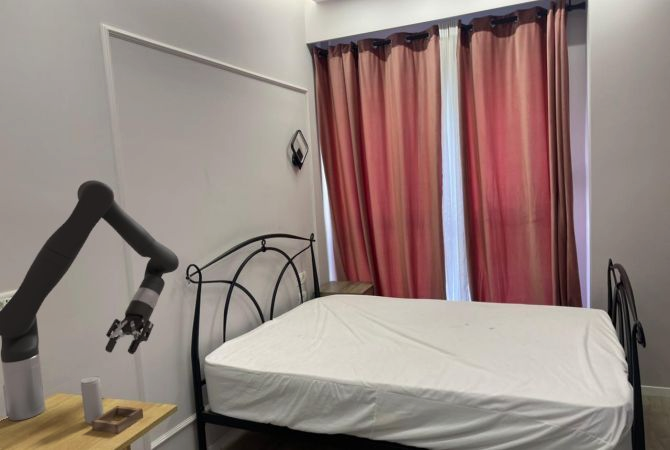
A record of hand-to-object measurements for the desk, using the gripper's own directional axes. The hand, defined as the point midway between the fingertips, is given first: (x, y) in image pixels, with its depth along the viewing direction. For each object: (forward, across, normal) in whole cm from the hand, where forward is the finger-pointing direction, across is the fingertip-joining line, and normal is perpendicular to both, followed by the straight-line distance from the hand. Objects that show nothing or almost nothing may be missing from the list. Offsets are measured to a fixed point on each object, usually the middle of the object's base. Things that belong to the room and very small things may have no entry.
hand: (119, 352), depth 140 cm
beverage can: (+19, 0, +3) cm, 19 cm away
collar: (+19, +8, +3) cm, 21 cm away
